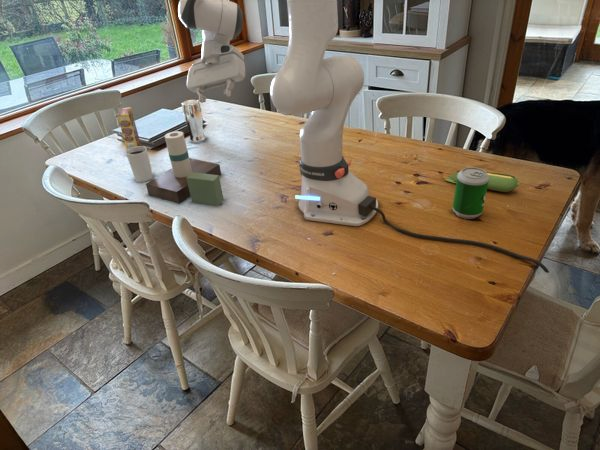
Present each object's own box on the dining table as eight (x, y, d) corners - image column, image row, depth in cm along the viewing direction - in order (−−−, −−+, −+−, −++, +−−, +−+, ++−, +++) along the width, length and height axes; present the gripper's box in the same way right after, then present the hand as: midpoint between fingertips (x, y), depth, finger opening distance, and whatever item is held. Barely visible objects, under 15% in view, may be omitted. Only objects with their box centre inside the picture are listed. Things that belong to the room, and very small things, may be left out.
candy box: (140, 153, 163) (128, 114, 155) (128, 155, 163) (116, 115, 154) (141, 144, 170) (131, 106, 162) (130, 146, 170) (119, 108, 161)
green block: (197, 196, 132) (192, 172, 128) (223, 200, 129) (219, 175, 125) (191, 202, 129) (185, 177, 125) (218, 206, 127) (213, 180, 122)
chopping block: (221, 175, 143) (219, 164, 141) (179, 203, 129) (176, 191, 127) (191, 168, 149) (189, 157, 147) (148, 195, 135) (145, 183, 133)
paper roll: (177, 180, 139) (187, 142, 142) (192, 182, 138) (202, 143, 140) (152, 166, 127) (163, 125, 129) (169, 168, 125) (180, 126, 127)
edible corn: (515, 196, 120) (519, 182, 117) (442, 184, 128) (443, 170, 126) (517, 188, 124) (521, 174, 121) (446, 176, 132) (447, 163, 130)
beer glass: (203, 143, 167) (195, 105, 159) (186, 143, 169) (177, 105, 161) (209, 136, 173) (202, 99, 165) (193, 136, 174) (185, 99, 166)
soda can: (478, 223, 110) (486, 181, 104) (448, 216, 114) (454, 175, 107) (484, 209, 116) (493, 168, 109) (456, 203, 119) (462, 163, 113)
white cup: (144, 172, 149) (136, 145, 144) (158, 175, 146) (151, 147, 141) (129, 180, 145) (120, 152, 139) (143, 184, 142) (135, 156, 136)
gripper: (183, 60, 138) (181, 101, 135) (237, 44, 129) (235, 87, 127) (196, 69, 143) (194, 109, 141) (248, 54, 134) (247, 96, 132)
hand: (214, 98), depth 134 cm, fingers open, 8 cm apart
